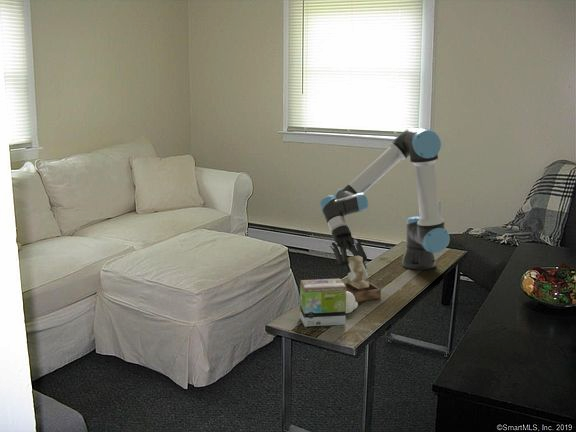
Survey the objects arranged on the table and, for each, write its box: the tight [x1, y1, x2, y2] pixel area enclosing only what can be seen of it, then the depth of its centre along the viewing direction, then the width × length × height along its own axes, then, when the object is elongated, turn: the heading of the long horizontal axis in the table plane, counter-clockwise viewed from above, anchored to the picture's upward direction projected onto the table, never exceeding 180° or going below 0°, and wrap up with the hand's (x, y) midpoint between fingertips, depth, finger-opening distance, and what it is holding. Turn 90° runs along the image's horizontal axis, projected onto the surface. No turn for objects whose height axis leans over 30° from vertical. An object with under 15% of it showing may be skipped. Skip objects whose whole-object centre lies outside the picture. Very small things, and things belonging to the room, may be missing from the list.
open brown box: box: [343, 279, 381, 303], centre depth 264 cm, size 12×13×4 cm
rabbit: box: [346, 291, 359, 314], centre depth 247 cm, size 12×9×12 cm
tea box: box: [299, 278, 347, 328], centre depth 236 cm, size 15×10×15 cm, turn 99°
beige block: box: [347, 255, 370, 289], centre depth 262 cm, size 5×8×11 cm, turn 26°
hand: (360, 278), depth 261 cm, fingers closed on beige block, 5 cm apart
